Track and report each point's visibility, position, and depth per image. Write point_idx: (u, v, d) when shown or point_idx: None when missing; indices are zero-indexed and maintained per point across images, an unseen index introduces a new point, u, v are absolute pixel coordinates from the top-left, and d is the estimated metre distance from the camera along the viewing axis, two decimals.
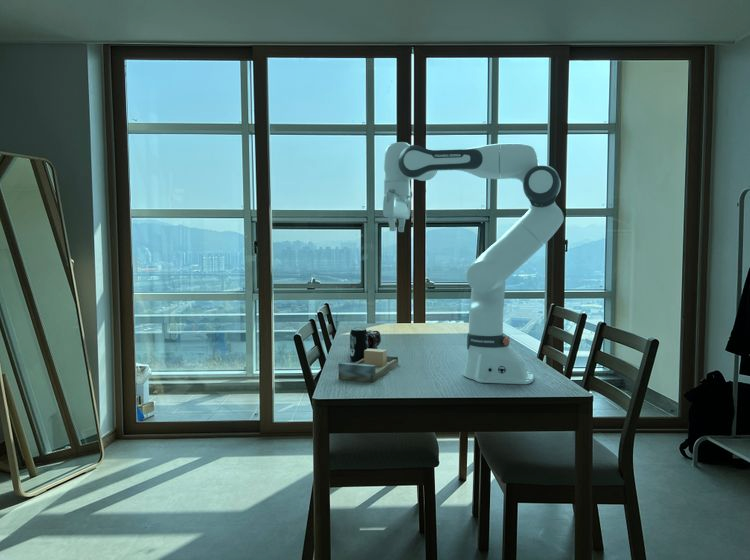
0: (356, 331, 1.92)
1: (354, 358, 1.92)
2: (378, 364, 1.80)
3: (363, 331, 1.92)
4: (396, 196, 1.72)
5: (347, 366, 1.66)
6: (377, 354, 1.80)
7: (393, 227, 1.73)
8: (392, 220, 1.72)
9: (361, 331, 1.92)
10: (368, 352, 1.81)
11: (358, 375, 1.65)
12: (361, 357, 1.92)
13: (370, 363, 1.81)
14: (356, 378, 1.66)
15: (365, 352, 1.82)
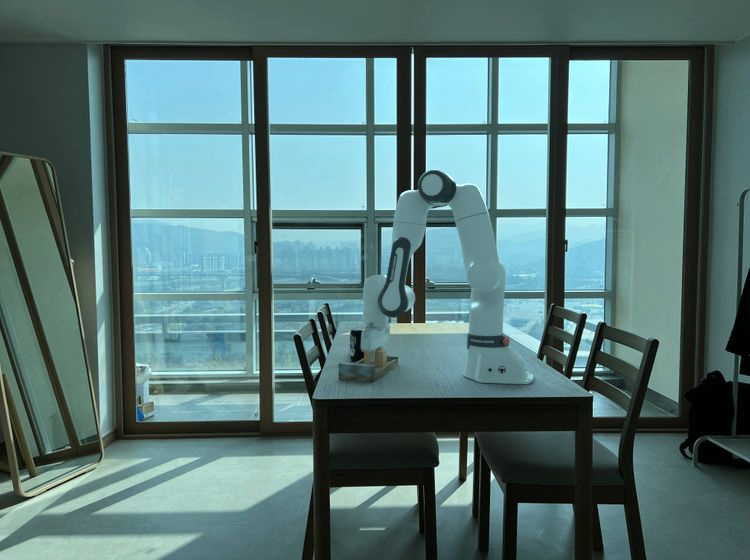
0: (356, 331, 1.92)
1: (354, 358, 1.92)
2: (378, 364, 1.80)
3: None
4: (374, 330, 1.76)
5: (347, 366, 1.66)
6: (377, 354, 1.80)
7: (373, 358, 1.79)
8: (372, 352, 1.78)
9: (361, 331, 1.92)
10: None
11: (358, 375, 1.65)
12: (361, 357, 1.92)
13: (370, 363, 1.81)
14: (356, 378, 1.66)
15: (365, 352, 1.82)
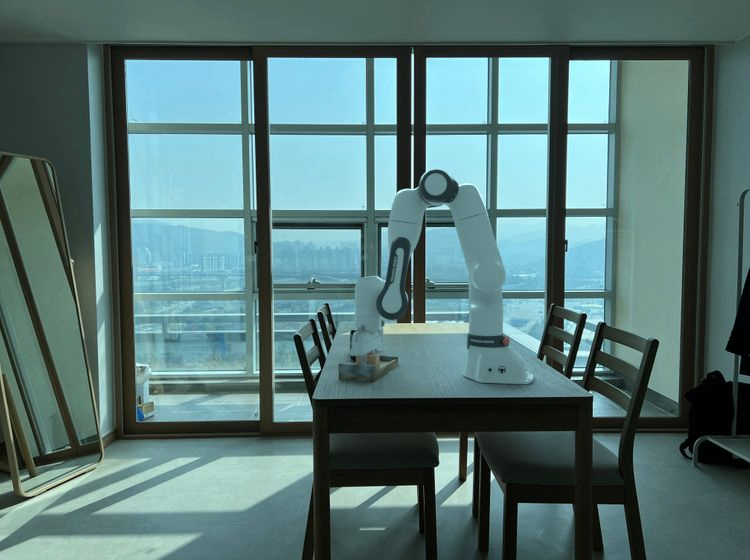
0: None
1: (354, 358, 1.92)
2: None
3: None
4: (365, 334, 1.68)
5: (347, 366, 1.66)
6: (369, 359, 1.73)
7: (365, 363, 1.72)
8: (364, 356, 1.71)
9: None
10: None
11: (358, 375, 1.65)
12: None
13: None
14: (356, 378, 1.66)
15: (357, 356, 1.75)
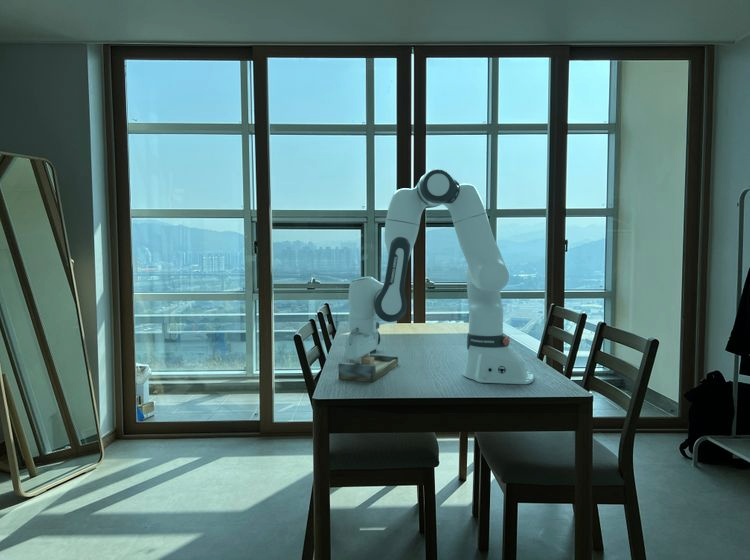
0: None
1: None
2: None
3: None
4: (359, 337, 1.64)
5: (347, 366, 1.66)
6: (364, 362, 1.68)
7: None
8: (358, 360, 1.66)
9: None
10: None
11: (358, 375, 1.65)
12: None
13: None
14: (356, 378, 1.66)
15: (351, 360, 1.70)
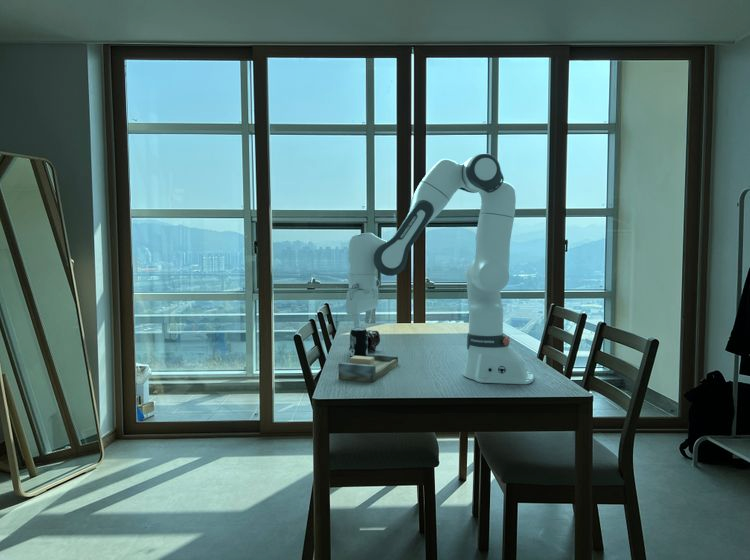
0: (356, 331, 1.92)
1: None
2: None
3: (363, 331, 1.92)
4: (360, 292, 1.62)
5: (347, 366, 1.66)
6: (364, 362, 1.68)
7: (357, 323, 1.64)
8: (356, 317, 1.63)
9: (361, 331, 1.92)
10: (354, 360, 1.69)
11: (358, 375, 1.65)
12: None
13: None
14: (356, 378, 1.66)
15: (351, 360, 1.70)
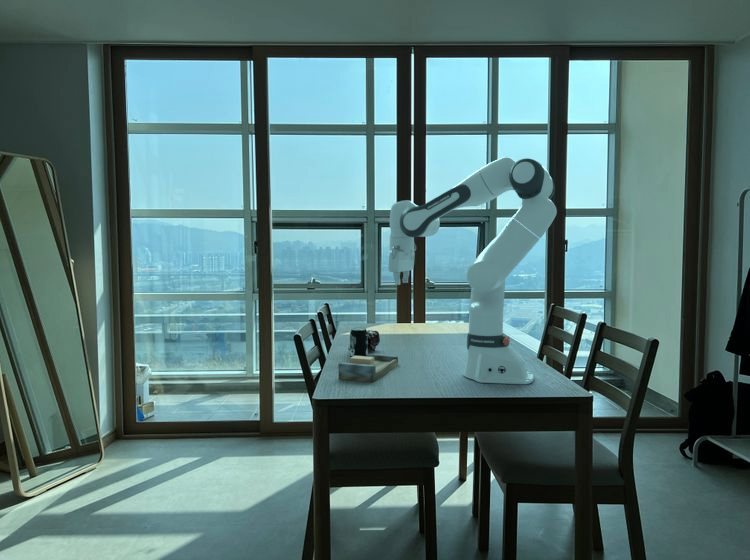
0: (356, 331, 1.92)
1: None
2: None
3: (363, 331, 1.92)
4: (401, 252, 1.83)
5: (347, 366, 1.66)
6: (364, 362, 1.68)
7: (398, 281, 1.84)
8: (397, 275, 1.83)
9: (361, 331, 1.92)
10: (354, 360, 1.69)
11: (358, 375, 1.65)
12: None
13: None
14: (356, 378, 1.66)
15: (351, 360, 1.70)
